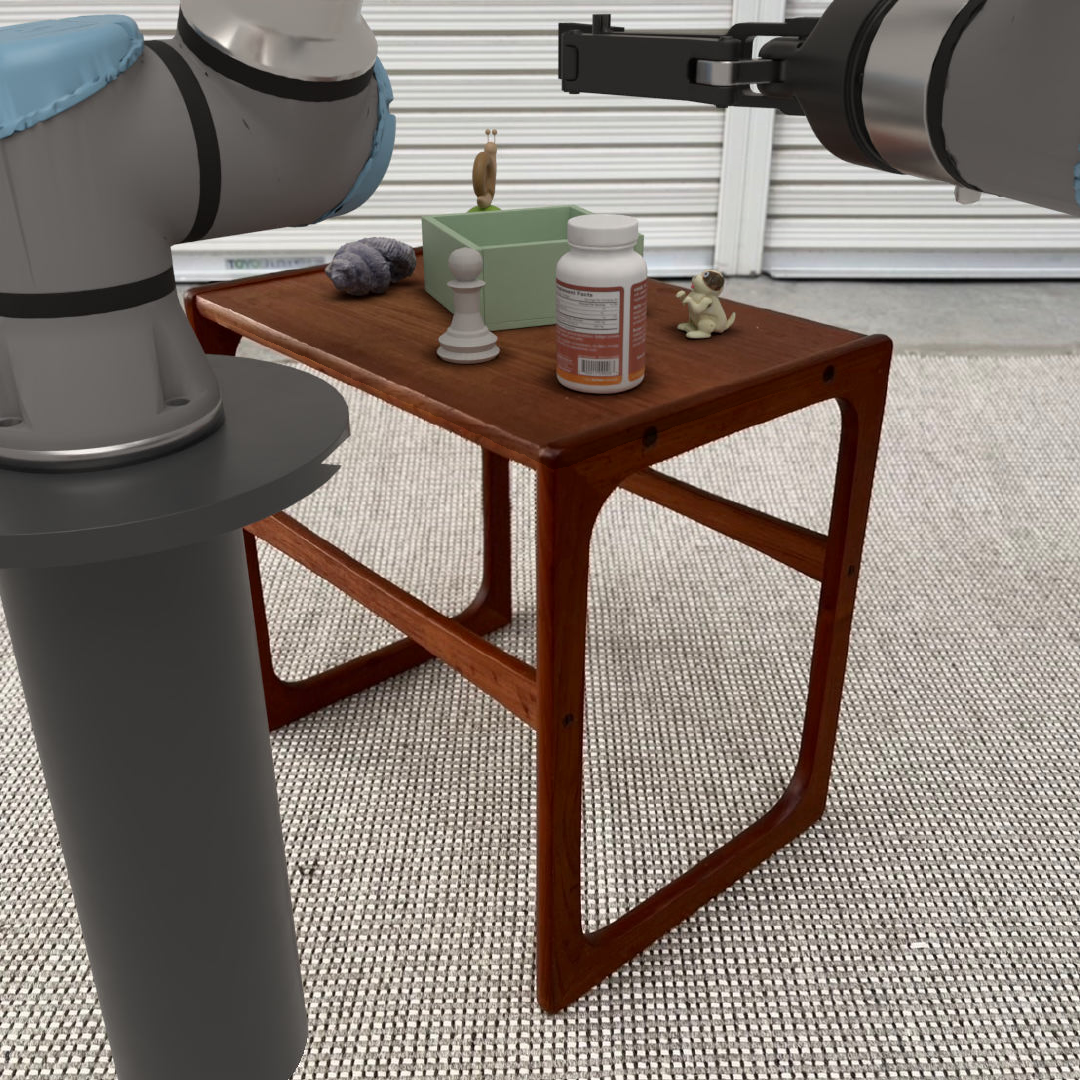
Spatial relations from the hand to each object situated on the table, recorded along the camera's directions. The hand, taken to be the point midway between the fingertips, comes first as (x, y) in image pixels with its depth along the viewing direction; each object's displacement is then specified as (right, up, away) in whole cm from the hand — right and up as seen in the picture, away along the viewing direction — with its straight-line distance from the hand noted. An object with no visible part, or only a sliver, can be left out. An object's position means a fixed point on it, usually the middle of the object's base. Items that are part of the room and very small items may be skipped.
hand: (680, 47), depth 62 cm
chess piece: (-13, -13, +24) cm, 30 cm away
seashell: (-23, -5, +41) cm, 47 cm away
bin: (-9, -6, +37) cm, 39 cm away
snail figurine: (-13, +1, +52) cm, 54 cm away
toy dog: (+5, -11, +29) cm, 31 cm away
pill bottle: (-3, -16, +18) cm, 24 cm away
